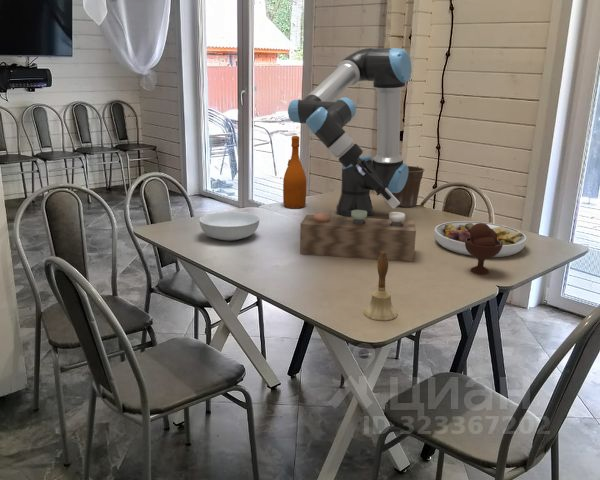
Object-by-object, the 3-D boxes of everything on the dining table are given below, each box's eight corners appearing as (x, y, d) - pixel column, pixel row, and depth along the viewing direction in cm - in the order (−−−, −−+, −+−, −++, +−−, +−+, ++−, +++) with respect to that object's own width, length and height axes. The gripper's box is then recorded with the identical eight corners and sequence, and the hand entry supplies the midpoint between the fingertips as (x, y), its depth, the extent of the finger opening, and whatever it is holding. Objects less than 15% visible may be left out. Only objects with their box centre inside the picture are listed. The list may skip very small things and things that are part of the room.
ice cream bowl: (494, 280, 164) (500, 230, 160) (456, 272, 170) (461, 224, 165) (503, 270, 173) (509, 222, 168) (466, 263, 178) (471, 216, 174)
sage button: (350, 231, 183) (350, 213, 181) (351, 227, 187) (352, 209, 186) (365, 232, 182) (366, 214, 180) (366, 228, 187) (367, 210, 185)
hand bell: (359, 317, 139) (363, 255, 134) (368, 304, 146) (371, 245, 141) (393, 323, 136) (398, 260, 131) (400, 310, 143) (405, 249, 138)
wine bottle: (306, 204, 249) (308, 134, 240) (304, 209, 240) (306, 137, 231) (284, 203, 250) (285, 134, 241) (281, 208, 241) (282, 136, 232)
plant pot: (401, 198, 263) (403, 163, 258) (429, 205, 251) (432, 169, 246) (376, 203, 253) (378, 167, 248) (404, 210, 241) (407, 172, 236)
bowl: (452, 229, 216) (454, 209, 214) (534, 244, 200) (537, 222, 197) (419, 248, 193) (421, 226, 190) (509, 267, 176) (512, 243, 174)
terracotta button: (312, 233, 185) (313, 215, 183) (315, 229, 190) (315, 211, 188) (328, 234, 184) (328, 216, 183) (329, 230, 189) (330, 212, 187)
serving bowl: (251, 227, 213) (251, 209, 211) (266, 243, 194) (266, 224, 192) (195, 231, 207) (195, 212, 205) (204, 248, 188) (204, 228, 186)
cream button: (387, 233, 181) (389, 215, 179) (388, 229, 186) (389, 211, 184) (403, 234, 180) (405, 216, 178) (403, 230, 185) (405, 212, 183)
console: (300, 253, 184) (300, 223, 181) (305, 242, 195) (306, 214, 192) (413, 261, 178) (415, 231, 176) (412, 250, 190) (415, 221, 187)
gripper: (339, 155, 185) (388, 208, 187) (335, 162, 173) (387, 218, 175) (356, 139, 183) (405, 193, 185) (353, 145, 171) (405, 202, 173)
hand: (396, 205), depth 180 cm, fingers closed
